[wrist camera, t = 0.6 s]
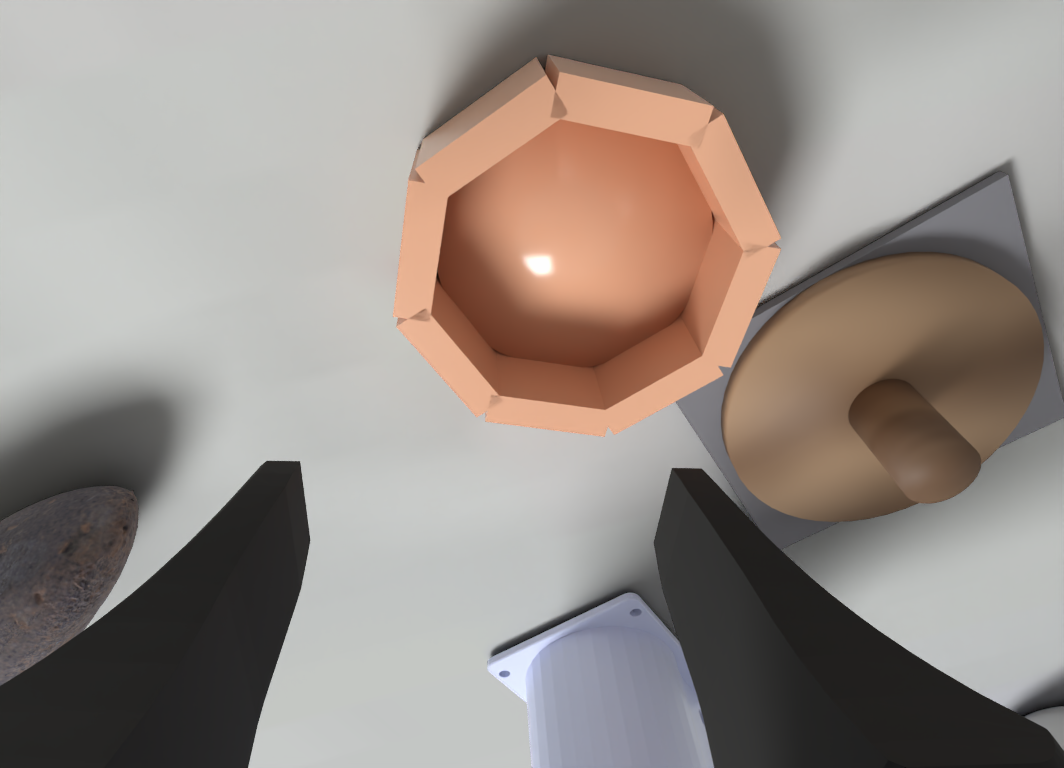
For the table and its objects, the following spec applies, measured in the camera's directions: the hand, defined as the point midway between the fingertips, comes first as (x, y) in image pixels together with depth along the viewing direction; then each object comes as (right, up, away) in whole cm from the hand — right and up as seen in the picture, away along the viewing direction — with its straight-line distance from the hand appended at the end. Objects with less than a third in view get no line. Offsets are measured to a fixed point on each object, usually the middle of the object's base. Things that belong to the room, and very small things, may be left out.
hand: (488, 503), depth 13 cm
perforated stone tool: (-18, -4, +13) cm, 23 cm away
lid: (+13, +2, +11) cm, 17 cm away
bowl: (+2, +7, +8) cm, 10 cm away
